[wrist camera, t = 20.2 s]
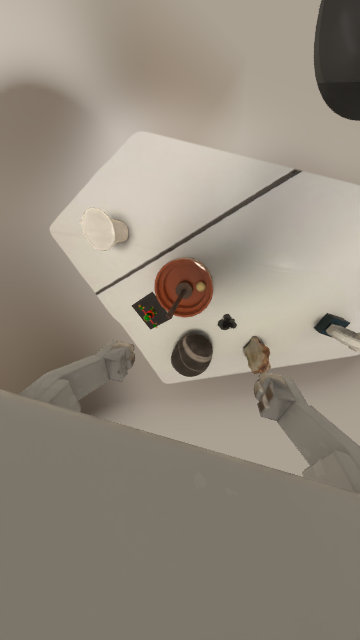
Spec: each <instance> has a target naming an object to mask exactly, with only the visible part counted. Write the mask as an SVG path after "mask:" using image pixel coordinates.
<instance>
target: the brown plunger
mask: <svg viewBox="0 0 360 640" xmlns="http://www.w3.org/2000/svg"><path fill="white" fill-rule="evenodd" d="M192 292H193V285H192V283H191V282H189V281H187V280H184V281H181V282H180V283H179V284H178V285H177V287H176V294H177V296H178V297H177V299H176V301H175V302H174V304H173V305H172V307H171V309H170V310H169V312H168V313H167V315H166V318H167V319H171V318H172V316H173V314H174V313H175V311H176V309H177V307H178V305H179V303H180V301H181V300H182V299H188V298H189V297H190V296H191V295H192Z"/></svg>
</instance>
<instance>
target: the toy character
mask: <svg viewBox="0 0 360 640" xmlns="http://www.w3.org/2000/svg"><path fill="white" fill-rule="evenodd" d="M132 307H133V308H134V309H135V311H136V312H137V313H138V314H139V316H140V317H141V318H142V319H143V321H144V322H145V323H146V325H147V326H148V327H149V328H150V330H151V329H152V328H154V327H157V326H158V325H160V324H162V323H164V322H166V321H168V320H170V319H167V318H166V315H167V311H166V310H165V309H164V308H163V307H162V306H161V304H160V303H159V301H158V300H157V297H156V296H155V295H154V293H153V292H151V293H150V294H148V295H147V296H145V297H144V298H142V299H141V300H139V301H138V302H136V303H135V304H133V305H132ZM171 319H172V318H171Z"/></svg>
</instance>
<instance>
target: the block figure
mask: <svg viewBox="0 0 360 640" xmlns="http://www.w3.org/2000/svg"><path fill="white" fill-rule="evenodd" d="M223 318H224V320H223V319H222V320H220V321H219V323H218V326H219V327H220V328H221V329H222V330H227V329H229V328H230V327H231V328H233V329H234V328H235V327H236V326H237V324H236V323H235V322H234V321H235V320H234V319H231V317H230V315H229V314H228V315H227V314H226V315H224V317H223Z"/></svg>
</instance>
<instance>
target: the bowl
mask: <svg viewBox="0 0 360 640" xmlns="http://www.w3.org/2000/svg"><path fill="white" fill-rule="evenodd" d="M184 280H187V281H189V282H191V283H192V285H193V292H192V295H191V296H190V297H189V298H188V299H182V300H181V301H180V303H179V305H178V307H177V309H176V311H175V313H174V314H173V315H175V316H179V317H192V316H195V315H197V314H199V313H201V312H202V311H203V310H204V309H205V308H207V306H208V304H209V303H210V301H211V299H212V294H213V281H212V276H211V274H210V272H209V270H208V268H207V267H206V266H205V265H204V264H203V263H202V262H200V261H198V260H196V259H194V258H188V257H182V258H178V259H175V260H172V261H170V262H169V263H167V264H166V265H164V266H163V267H162V268H161V270H160V271H159V272H158V274H157V277H156V280H155V293H156V297H157V300H158V301H159V303H160V304H161V306H162V307H163V308H164V309H165V310H166V311H168V312H169V310H170V309H171V307H172V305H173V304H174V302H175V301H176V299H177V297H178V296H177V294H176V287H177V285H178V284H179V283H180V282H181V281H184ZM198 282H204V283H205V285H206V288H205V290H204V291H202V292H200V291H198V290H197V289H196V285H197V283H198Z"/></svg>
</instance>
